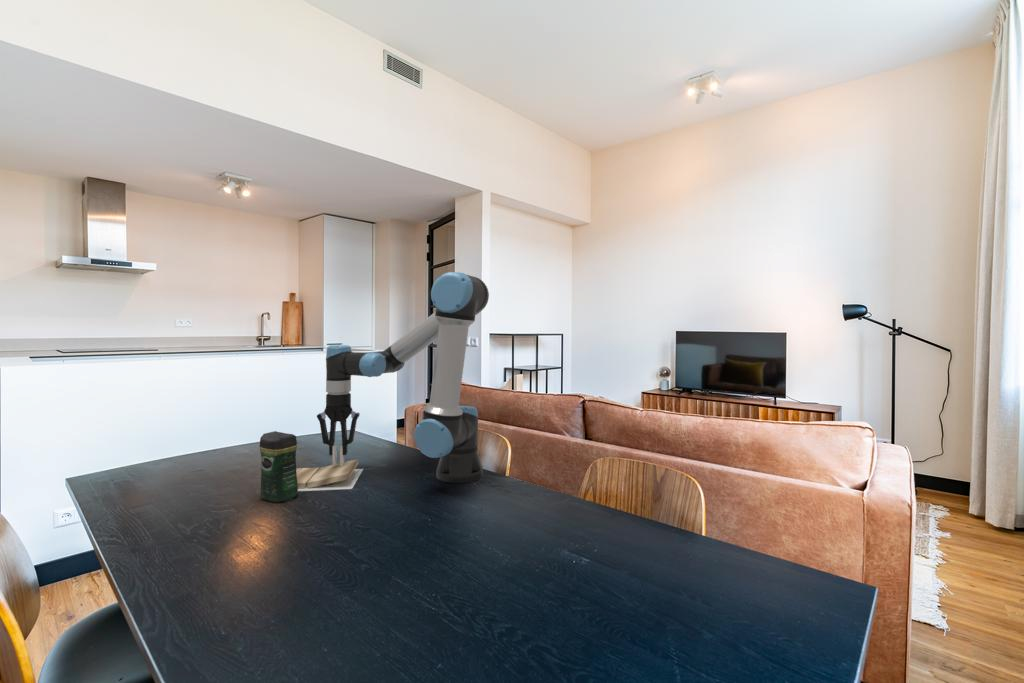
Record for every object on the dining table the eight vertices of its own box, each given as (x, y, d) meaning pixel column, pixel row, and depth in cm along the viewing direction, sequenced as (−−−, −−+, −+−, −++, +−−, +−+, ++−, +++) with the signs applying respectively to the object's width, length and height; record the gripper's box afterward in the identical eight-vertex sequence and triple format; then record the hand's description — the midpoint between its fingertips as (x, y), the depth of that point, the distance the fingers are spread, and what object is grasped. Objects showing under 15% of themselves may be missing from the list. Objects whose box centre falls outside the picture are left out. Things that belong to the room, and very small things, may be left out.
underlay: (363, 469, 158) (363, 468, 158) (352, 489, 138) (352, 488, 138) (285, 472, 155) (285, 471, 155) (262, 493, 135) (262, 492, 135)
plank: (358, 463, 156) (357, 459, 156) (348, 478, 140) (347, 473, 140) (321, 472, 154) (320, 467, 154) (307, 488, 139) (306, 483, 138)
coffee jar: (303, 495, 133) (302, 431, 132) (278, 505, 126) (276, 438, 125) (281, 489, 137) (279, 427, 136) (255, 499, 130) (254, 433, 129)
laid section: (319, 472, 154) (319, 467, 154) (305, 488, 138) (305, 483, 138) (284, 473, 153) (284, 468, 153) (265, 490, 137) (265, 484, 137)
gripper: (363, 391, 155) (363, 461, 156) (317, 391, 153) (317, 462, 154) (360, 394, 148) (359, 467, 149) (311, 394, 146) (311, 469, 147)
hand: (338, 464), depth 151 cm, fingers open, 2 cm apart
